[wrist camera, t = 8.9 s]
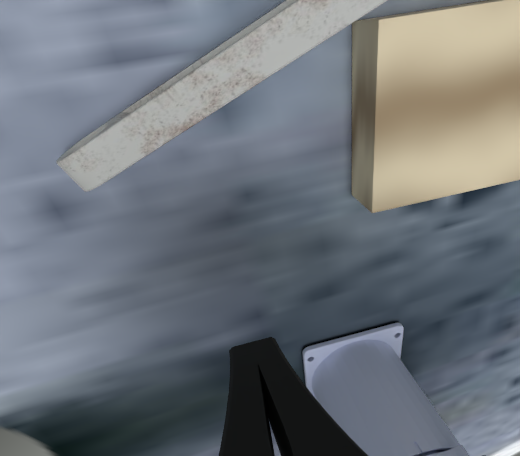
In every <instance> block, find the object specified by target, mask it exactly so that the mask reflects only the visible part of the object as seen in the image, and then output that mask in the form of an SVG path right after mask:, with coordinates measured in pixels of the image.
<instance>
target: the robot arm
mask: <svg viewBox="0 0 520 456" xmlns="http://www.w3.org/2000/svg"><path fill="white" fill-rule="evenodd" d="M403 330H404V328H403V326H402V325H401V324H400V323H393V324H390V325H386V326H382V327H378V328H375V329H371V330H367V331H364V332H360V333H356V334H353V335H349V336H345V337H341V338H338V339H334V340H330V341H327V342H323V343H319V344H316V345H312V346H308V347H306V348H305V349H304V350H303V352H302V354H303V364H304V374H305V384H306V386H305V385H304V383H303V382H302V381H301V379H300V378H299V377H298V375H297V374H296V372H295V371H294V370H293V368H292V367H291V365H290V364H289V362H288V361H287V359H286V358H285V356H284V354H283V353H282V351H281V349H280V348H279V346H278V344H277V342H276V340H275V339H274V338H272V337H269V338H265V339H261V340H258V341H254V342H250V343H246V344H243V345H239V346H235V347H232V348H231V349H230V351H229V353H230V383H229V395H228V403H227V411H226V419H225V425H224V430H223V436H222V441H221V447H220V452H219V456H274V449H273V443H272V437H271V431H270V424H271V427H272V430H273V433H274V436H275V439H276V442H277V445H278V448H279V451H280V454H281V456H469V454H468V453H467V451H466V450H465V449H464V447H463V446H462V445H460V444H459V442H458V441H457V439H456V438H455V437H454V435H453V434H452V432H451V431H450V429H449V428H448V427H447V425H446V424H445V422H444V421H443V419H442V418H441V417H440V415H439V414H438V412H437V411H436V409H435V408H434V407H433V405H432V404H431V402H430V401H429V399H428V398H427V397H426V395H425V394H424V392H423V391H422V389H421V388H420V387H419V385H418V384H417V382H416V381H415V379H414V378H413V377H412V375H411V374H410V372H409V371H408V370H407V368H406V367H405V365H404V364H403V362H402V361H401V360H400V358H401V349H402V339H403ZM269 421H270V424H269ZM482 456H485V455H482Z"/></svg>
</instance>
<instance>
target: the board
mask: <svg viewBox="0 0 520 456" xmlns="http://www.w3.org/2000/svg"><path fill="white" fill-rule="evenodd" d="M516 180H520V0H487V1H480V2H474V3H467V4H461V5H454V6H448V7H441V8H435V9H428V10H422V11H416V12H409V13H403V14H396V15H390V16H383V17H377V18H370V19H364V20H357V21H355V22H353V23H352V195H353V196H354V197H355V198H356V199H357V200H358V201H359V202H360V203H361V204H362V205H364V206H365V207H366V208H367V209H368V210H369V211H370V212H371V213H375V212H379V211H384V210H388V209H392V208H397V207H401V206H406V205H410V204H414V203H419V202H423V201H428V200H432V199H436V198H441V197H445V196H450V195H454V194H459V193H463V192H467V191H472V190H476V189H481V188H485V187H489V186H494V185H498V184H503V183H507V182H511V181H516Z"/></svg>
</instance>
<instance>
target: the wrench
mask: <svg viewBox="0 0 520 456" xmlns="http://www.w3.org/2000/svg"><path fill="white" fill-rule="evenodd" d="M386 1H387V0H286V1H284V2H283V3H281V4H280V5H278V6H277V7H275V8H274V9H272V10H271V11H269V12H268V13H266V14H265V15H264V16H262V17H261V18H259V19H258V20H256V21H255V22H253V23H252V24H250V25H249V26H247V27H246V28H244V29H243V30H241V31H240V32H239V33H237V34H236V35H234V36H233V37H231V38H230V39H228V40H227V41H225V42H224V43H222V44H221V45H219V46H218V47H217V48H215V49H214V50H212V51H211V52H209V53H208V54H206V55H205V56H203V57H202V58H200V59H199V60H197V61H196V62H194V63H193V64H192V65H190V66H189V67H187V68H186V69H184V70H183V71H181V72H180V73H178V74H177V75H175V76H174V77H172V78H171V79H169V80H168V81H167V82H165V83H164V84H162V85H161V86H159V87H158V88H156V89H155V90H153V91H152V92H150V93H149V94H147V95H146V96H144V97H143V98H141V99H140V100H139V101H137V102H136V103H134V104H133V105H131V106H130V107H128V108H127V109H125V110H124V111H122V112H121V113H119V114H118V115H116V116H115V117H114V118H112V119H111V120H109V121H108V122H106V123H105V124H103V125H102V126H101V127H99V128H98V129H96V130H95V131H93V132H92V133H90V134H89V135H88V136H86V137H85V138H83V139H82V140H80V141H79V142H78V143H76V144H75V145H74V146H72V147H71V148H70V149H69V150H67V151H66V152H65V153H64V154H63V155H62V156H61V157H60V158H59V159H58V160H57V164H58V165H59V166H60V167H61V168H62V169H63V170H64V171H65V172H66V173H67V174H68V175H69V176H70V177H71V178H72V179H73V180H74V181H75V182H76V183H77V184H78V185H79V186H80V187H81V188H82V189H83V190H84V191H85V192H87V191H90V190H93V189H95V188H97V187H98V186H100V185H102V184H103V183H105V182H107V181H108V180H110V179H111V178H113V177H114V176H116V175H117V174H119V173H120V172H122V171H124V170H125V169H127V168H128V167H130V166H131V165H133V164H134V163H136V162H138V161H139V160H141V159H142V158H144V157H145V156H147V155H148V154H150V153H151V152H153V151H155V150H156V149H158V148H159V147H161V146H162V145H164V144H165V143H167V142H169V141H170V140H172V139H173V138H175V137H176V136H178V135H179V134H181V133H182V132H184V131H186V130H187V129H189V128H190V127H192V126H193V125H195V124H196V123H198V122H200V121H201V120H203V119H204V118H206V117H207V116H209V115H210V114H212V113H214V112H215V111H217V110H218V109H220V108H221V107H223V106H224V105H226V104H227V103H229V102H231V101H232V100H234V99H235V98H237V97H238V96H240V95H241V94H243V93H245V92H246V91H248V90H249V89H251V88H252V87H254V86H255V85H257V84H258V83H260V82H262V81H263V80H265V79H266V78H268V77H269V76H271V75H272V74H274V73H276V72H277V71H279V70H280V69H282V68H283V67H285V66H286V65H288V64H290V63H291V62H293V61H294V60H296V59H297V58H299V57H300V56H302V55H303V54H305V53H307V52H308V51H310V50H311V49H313V48H314V47H316V46H317V45H319V44H321V43H322V42H324V41H325V40H327V39H328V38H330V37H331V36H333V35H335V34H336V33H338V32H339V31H341V30H342V29H344V28H345V27H347V26H348V25H350V24H352V23H353V22H355V21H356V20H358V19H359V18H361V17H362V16H364V15H366V14H367V13H369V12H370V11H372V10H373V9H375V8H376V7H378V6H379V5H381V4H383V3H384V2H386Z"/></svg>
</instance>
